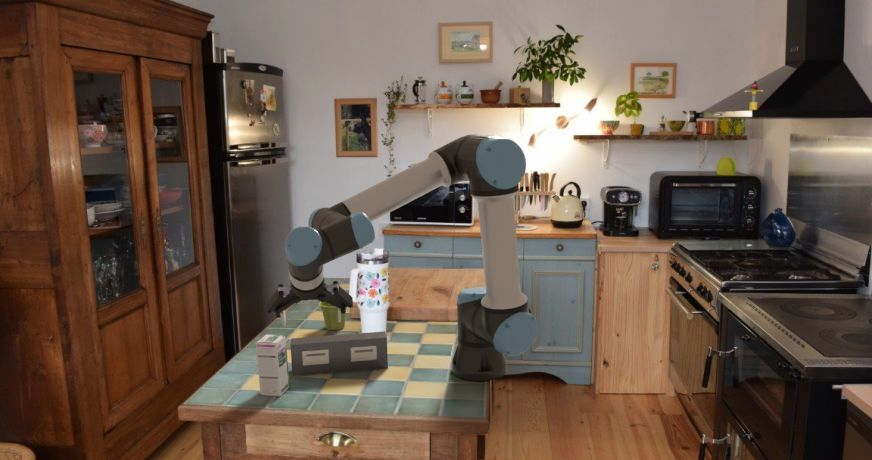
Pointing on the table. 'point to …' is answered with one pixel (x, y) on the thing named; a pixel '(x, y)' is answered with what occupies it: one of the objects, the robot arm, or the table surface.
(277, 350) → the syrup box
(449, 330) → the table surface
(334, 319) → the plant pot
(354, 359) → the box
